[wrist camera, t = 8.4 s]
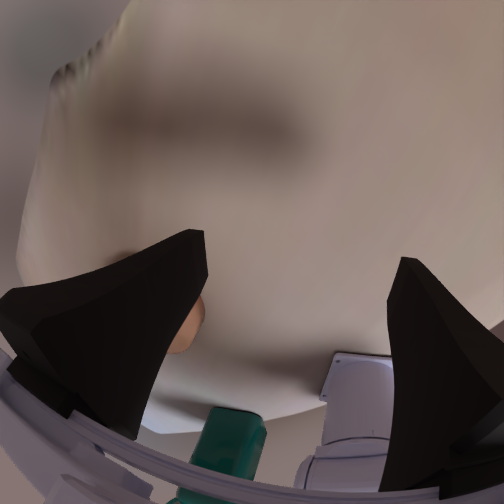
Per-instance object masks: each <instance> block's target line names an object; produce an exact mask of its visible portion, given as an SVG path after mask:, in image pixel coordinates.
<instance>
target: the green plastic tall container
mask: <svg viewBox="0 0 504 504" xmlns="http://www.w3.org/2000/svg"><path fill="white" fill-rule="evenodd" d="M266 436H267V431H266V428H265V425H264V422H263V420H262V418H261V417H259V416H258V415H256V414H253V413H249V412H242V411H236V410H230V409H224V408H213V409H211V410H210V413H209V415H208V418H207V420H206V422H205V425H204V427H203V430H202V432H201V435H200V437H199V440H198V442H197V444H196V446H195V449H194V451H193V454H192V456H191V458H190V461H189V463H190V464H193V465H196V466H199V467H202V468H205V469H208V470H212V471H215V472H219V473H222V474H226V475H230V476H234V477H238V478H242V479H247V480H251V481H253V480H254V477H255V474H256V470H257V467H258V463H259V460H260V456H261V453H262V450H263V446H264V443H265V439H266ZM167 504H236V503H232V502H228V501H225V500H221V499H217V498H214V497H210V496H207V495H204V494H201V493H197V492H194V491H191V490H188V489H186V488H183V487H180V486H178V489H177V491H176V498H174V499H172V500H170V501H169V502H168V503H167Z"/></svg>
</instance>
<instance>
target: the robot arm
mask: <svg viewBox="0 0 504 504" xmlns="http://www.w3.org/2000/svg"><path fill="white" fill-rule="evenodd" d="M207 277H208V269H207V259H206V250H205V240H204V231H203V230H194V229H187V230H184V231H182V232H179V233H177V234H175V235H173V236H171V237H169V238H167V239H165V240H163V241H160V242H158V243H156V244H154V245H152V246H150V247H148V248H146V249H144V250H142V251H140V252H138V253H136V254H134V255H131V256H129V257H127V258H125V259H123V260H121V261H118V262H116V263H113V264H111V265H108V266H106V267H103V268H100V269H98V270H95V271H92V272H89V273H85V274H82V275H79V276H76V277H72V278H69V279H65V280H61V281H56V282H52V283H47V284H41V285H35V286H27V287H19V288H13V289H11V290H9V291H8V292H7V293H6V294H5V295H4V296H3V297H2V298H1V299H0V331H1V333H2V334H3V336H4V337H5V339H6V340H7V342H8V343H9V344H10V346H11V347H12V349H13V350H14V351H15V353H16V354H17V357H16V358H15V359H14V360H13V359H11V357H10V356H9V355H8V354H7V353H6V352H4V351H3V350H2V349H1V348H0V445H1V447H2V448H3V450H4V451H5V452H6V453H7V455H8V456H9V458H10V459H11V460H12V461H13V463H14V464H15V465H16V466H17V468H18V469H19V470H20V471H21V473H22V474H23V475H24V476H25V477H26V478H27V479H28V481H29V482H30V483H31V484H32V485H33V486H34V487H35V488H36V489H37V490H38V492H40V494H41V495H42V496H43V497H44V498H45V499H46V500H45V502H44V504H157V503H155V502H153V501H150V498H149V497H150V494H151V492H152V490H153V486H152V485H151V484H149V483H147V482H145V481H143V480H142V479H140V478H138V477H137V476H135V475H134V474H132V473H131V472H130V471H128V470H127V469H126V468H124V467H122V466H121V465H119V464H117V463H115V462H113V461H112V460H110V459H109V458H107V457H105V454H104V452H106V453H108V454H109V455H111V456H113V457H115V458H117V459H119V460H121V461H123V462H125V463H127V464H129V465H131V466H133V467H135V468H137V469H139V470H141V471H143V472H146V473H148V474H150V475H152V476H155V477H157V478H160V479H162V480H164V481H167V482H169V483H172V484H175V485H177V486H180V487H183V488H186V489H188V490H191V491H194V492H197V493H201V494H204V495H207V496H210V497H214V498H217V499H221V500H225V501H228V502H232V503H236V504H504V343H503V342H502V341H501V340H500V339H498V338H497V337H496V336H495V335H493V334H492V333H491V332H490V331H489V330H488V329H487V328H485V327H484V326H483V325H482V324H481V323H480V322H479V321H478V320H477V319H476V318H474V317H473V316H472V315H471V314H470V313H469V312H468V311H467V310H466V309H465V308H464V307H463V306H462V305H461V303H460V302H459V301H458V300H457V299H456V298H455V297H454V296H453V295H452V294H451V293H450V292H449V291H448V290H447V289H446V288H445V287H444V285H443V284H442V283H441V282H440V281H439V280H438V279H437V278H436V277H435V276H434V275H433V274H432V273H431V272H430V270H429V269H428V268H427V267H426V266H425V265H424V264H423V263H421V262H420V261H419V260H418V259H416V258H409V257H401V260H400V264H399V267H398V270H397V273H396V276H395V279H394V282H393V285H392V288H391V291H390V294H389V297H388V299H387V325H388V333H389V340H390V348H391V356H392V358H389V357H377V356H366V355H356V354H347V353H336V354H335V355H334V358H333V361H332V364H331V366H330V369H329V372H328V375H327V378H326V380H325V383H324V386H323V389H322V391H321V394H320V396H319V400H320V401H324V402H327V405H326V413H325V421H324V427H323V434H322V442H321V443H322V446H317V447H316V452H315V455H309V456H308V457H307V458H306V459H305V460H304V461H303V462H302V463H301V464H300V466H299V468H298V471H297V474H296V477H295V482H294V488H291V487H284V486H278V485H271V484H266V483H261V482H256V481H251V480H247V479H242V478H238V477H234V476H230V475H226V474H222V473H219V472H215V471H212V470H208V469H205V468H202V467H199V466H196V465H193V464H190V463H186V462H184V461H181V460H178V459H175V458H173V457H170V456H167V455H165V454H162V453H160V452H157V451H155V450H153V449H150V448H148V447H145V446H143V445H141V444H139V443H136V442H134V440H136V439H137V435H138V431H139V428H140V424H141V420H142V417H143V413H144V410H145V407H146V404H147V401H148V398H149V395H150V392H151V389H152V387H153V384H154V382H155V379H156V377H157V374H158V372H159V369H160V367H161V364H162V362H163V360H164V358H165V355H166V353H167V351H168V349H169V347H170V345H171V343H172V341H173V339H174V338H175V336H176V334H177V333H178V331H179V329H180V328H181V326H182V325H183V323H184V321H185V320H186V318H187V316H188V315H189V313H190V311H191V310H192V308H193V306H194V305H195V303H196V301H197V300H198V298H199V296H200V294H201V292H202V289H203V287H204V285H205V282H206V280H207ZM103 451H104V452H103Z"/></svg>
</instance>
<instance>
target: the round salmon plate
mask: <svg viewBox="0 0 504 504" xmlns="http://www.w3.org/2000/svg"><path fill="white" fill-rule="evenodd" d="M204 316H205V308H204V303H203V301H202V298H201V296H199V298H198V300H197V301H196V303H195V305H194V306H193V308H192V310H191V311H190V313H189V315H188V316H187V318H186V320H185V321H184V323H183V325H182V326H181V328H180V329H179V331H178V333H177V334H176V336H175V338H174V339H173V341H172V343H171V345H170V347H169V349H168V351H167V353H166V354H177V353H181V352H184V351H185V350H187V349H188V348H189V346H190V345H191V343H192V341H193V339H194V337H195V335H196V334H197V332H198V330H199V328H200V326H201V324H202V322H203V320H204Z"/></svg>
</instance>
